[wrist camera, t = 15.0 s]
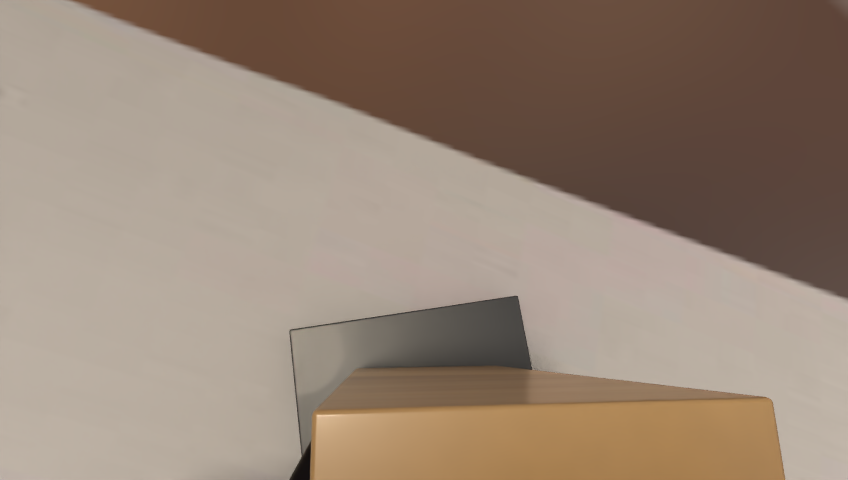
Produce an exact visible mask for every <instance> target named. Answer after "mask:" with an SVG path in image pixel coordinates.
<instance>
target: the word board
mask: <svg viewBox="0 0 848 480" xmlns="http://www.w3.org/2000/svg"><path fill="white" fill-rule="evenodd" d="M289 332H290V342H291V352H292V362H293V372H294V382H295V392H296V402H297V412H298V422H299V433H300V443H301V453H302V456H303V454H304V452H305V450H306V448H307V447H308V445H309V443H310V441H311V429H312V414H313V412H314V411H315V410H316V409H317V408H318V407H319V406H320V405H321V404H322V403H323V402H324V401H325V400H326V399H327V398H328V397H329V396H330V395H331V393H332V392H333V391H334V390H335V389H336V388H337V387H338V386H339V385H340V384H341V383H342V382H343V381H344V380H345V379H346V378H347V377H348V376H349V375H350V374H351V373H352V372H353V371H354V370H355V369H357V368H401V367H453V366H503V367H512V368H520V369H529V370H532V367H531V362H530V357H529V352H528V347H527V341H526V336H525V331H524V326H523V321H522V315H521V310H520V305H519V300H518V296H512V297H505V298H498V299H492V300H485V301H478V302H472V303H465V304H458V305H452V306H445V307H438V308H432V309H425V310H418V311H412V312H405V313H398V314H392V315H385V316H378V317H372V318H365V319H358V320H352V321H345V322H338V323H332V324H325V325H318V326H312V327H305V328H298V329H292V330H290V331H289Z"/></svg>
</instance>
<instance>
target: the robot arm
mask: <svg viewBox="0 0 848 480" xmlns="http://www.w3.org/2000/svg"><path fill="white" fill-rule="evenodd" d="M310 460H311V441H310V443H309V445H308V447H307V448H306V450H305V452H304V454H303V456H302V458H301V459H300V461H299V463H298V465H297V467H296V469H295V470H294V472H293V474H292V476H291V478H290V480H310Z"/></svg>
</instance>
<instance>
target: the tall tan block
mask: <svg viewBox="0 0 848 480" xmlns="http://www.w3.org/2000/svg"><path fill="white" fill-rule="evenodd" d="M310 480H785V475H784V469H783V462H782V456H781V450H780V444H779V438H778V432H777V426H776V419H775V413H774V407H773V402H772V400H771V399H769V398H766V397H761V396H752V395H743V394H735V393H726V392H718V391H709V390H701V389H692V388H683V387H675V386H666V385H658V384H649V383H640V382H632V381H623V380H615V379H606V378H598V377H589V376H580V375H572V374H563V373H555V372H546V371H537V370H529V369H520V368H512V367H503V366H453V367H401V368H357V369H355V370H354V371H353V372H352V373H351V374H350V375H349V376H348V377H347V378H346V379H345V380H344V381H343V382H342V383H341V384H340V385H339V386H338V387H337V388H336V389H335V390H334V391H333V392H332V393H331V395H330V396H329V397H328V398H327V399H326V400H325V401H324V402H323V403H322V404H321V405H320V406H319V407H318V408H317V409H316V410H315V411H314V412H313V414H312V429H311V460H310Z"/></svg>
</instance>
